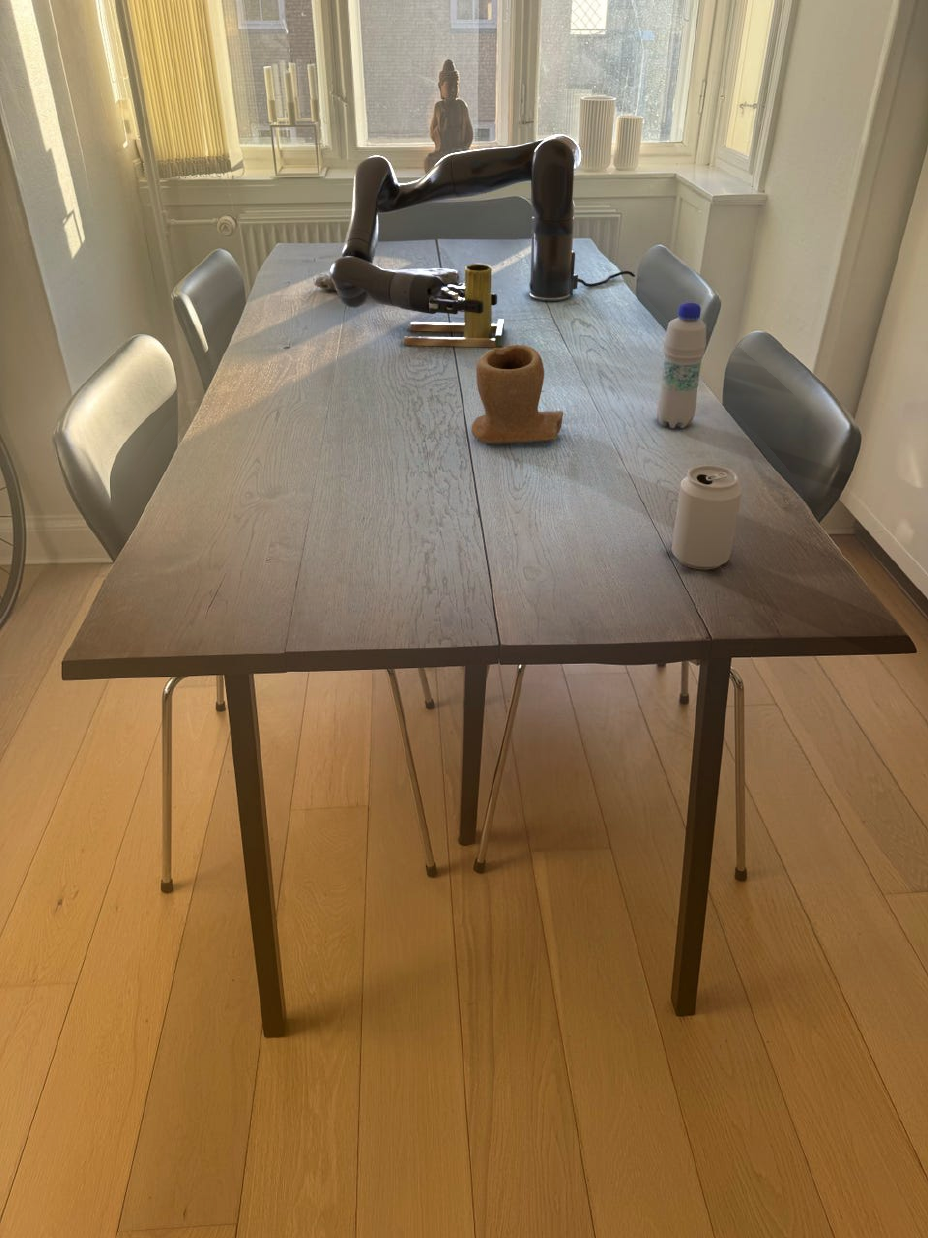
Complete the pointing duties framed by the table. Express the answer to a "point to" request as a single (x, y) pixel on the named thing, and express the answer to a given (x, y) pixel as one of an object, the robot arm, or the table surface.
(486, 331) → the vase
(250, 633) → the table surface
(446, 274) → the long grey stone
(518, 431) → the clay pipe
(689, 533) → the can
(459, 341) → the u-shaped frame
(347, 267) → the robot arm
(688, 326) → the bottle
